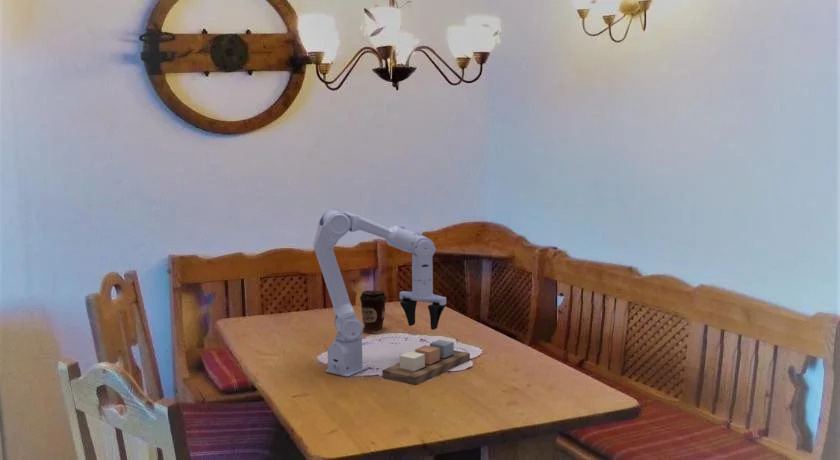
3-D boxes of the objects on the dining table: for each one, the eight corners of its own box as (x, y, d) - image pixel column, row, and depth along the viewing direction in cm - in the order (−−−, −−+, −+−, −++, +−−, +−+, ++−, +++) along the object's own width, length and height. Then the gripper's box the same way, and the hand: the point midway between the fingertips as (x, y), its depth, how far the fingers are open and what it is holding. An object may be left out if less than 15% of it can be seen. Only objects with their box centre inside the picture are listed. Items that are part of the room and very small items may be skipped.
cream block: (414, 371, 211) (414, 358, 210) (399, 368, 213) (399, 355, 213) (424, 366, 215) (424, 354, 214) (410, 363, 217) (410, 351, 217)
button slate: (444, 358, 222) (444, 346, 221) (429, 355, 225) (429, 343, 224) (453, 354, 226) (453, 342, 225) (439, 351, 229) (439, 339, 228)
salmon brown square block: (429, 364, 216) (429, 352, 216) (415, 361, 219) (415, 349, 219) (439, 360, 220) (439, 348, 220) (425, 357, 223) (425, 345, 222)
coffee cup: (374, 336, 253) (373, 295, 251) (354, 332, 258) (354, 292, 256) (391, 330, 260) (391, 291, 258) (372, 326, 265) (371, 288, 263)
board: (415, 385, 206) (415, 377, 206) (382, 377, 213) (382, 370, 212) (469, 360, 227) (469, 353, 227) (437, 353, 234) (437, 347, 233)
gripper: (452, 279, 221) (452, 327, 223) (409, 274, 229) (410, 320, 231) (438, 284, 215) (438, 333, 217) (394, 278, 223) (395, 325, 225)
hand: (422, 327), depth 224 cm, fingers open, 7 cm apart
